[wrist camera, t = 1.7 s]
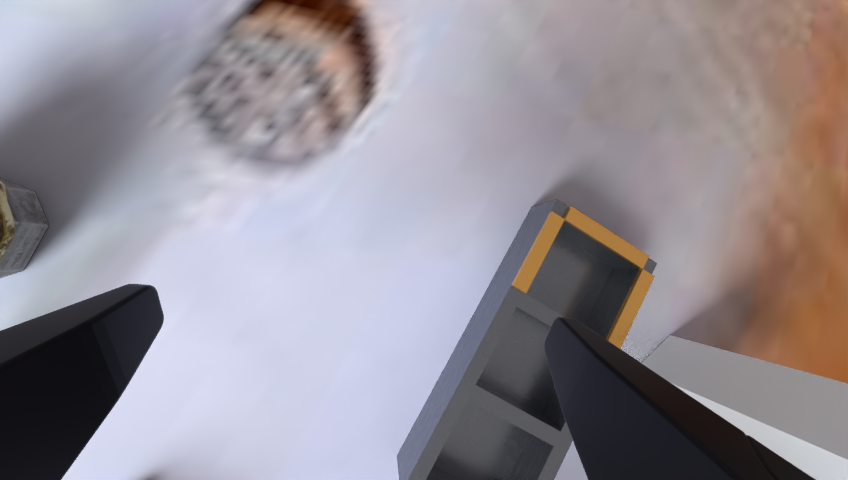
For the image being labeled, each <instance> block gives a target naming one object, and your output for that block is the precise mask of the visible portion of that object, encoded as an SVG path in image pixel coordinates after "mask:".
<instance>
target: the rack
mask: <svg viewBox="0 0 848 480" xmlns="http://www.w3.org/2000/svg"><path fill="white" fill-rule="evenodd" d="M656 264H657V263H656V262H654V261H652V260H651V259H649V256H648V255H647V254H645V253H644V252H642V251H641V250H639V249H637V248H636V247H634V246H633V245H631V244H630V243H628V242H627V241H625V240H623V239H622V238H620V237H619V236H617V235H616V234H614V233H612V232H611V231H609V230H608V229H606V228H605V227H603V226H602V225H600V224H598V223H597V222H595V221H594V220H592V219H591V218H589V217H588V216H586V215H584V214H583V213H581V212H580V211H578V210H577V209H575V208H574V207H572V206H571V207H568V206H567V205H565V204H563V203H562V202H560V201H559V200H557V199H556V200H553V201H550V202H546V203H543V204H540V205H537V206H533V207H531V209H530V211H529V213H528V215H527V216H526V218H525V220H524V222H523V224H522V226H521V228H520V229H519V231H518V233H517V235H516V237H515V239H514V241H513V242H512V244H511V246H510V248H509V250H508V252H507V253H506V255H505V257H504V259H503V261H502V263H501V265H500V266H499V268H498V270H497V272H496V274H495V276H494V278H493V279H492V281H491V283H490V285H489V287H488V289H487V290H486V292H485V294H484V296H483V298H482V300H481V302H480V303H479V305H478V307H477V309H476V311H475V313H474V315H473V316H472V318H471V320H470V322H469V324H468V326H467V327H466V329H465V331H464V333H463V335H462V337H461V339H460V340H459V342H458V344H457V346H456V348H455V350H454V352H453V353H452V355H451V357H450V359H449V361H448V363H447V364H446V366H445V368H444V370H443V372H442V374H441V376H440V377H439V379H438V381H437V383H436V385H435V387H434V389H433V390H432V392H431V394H430V396H429V398H428V400H427V401H426V403H425V405H424V407H423V409H422V411H421V413H420V414H419V416H418V418H417V420H416V422H415V424H414V425H413V427H412V429H411V431H410V433H409V435H408V437H407V438H406V440H405V442H404V444H403V446H402V448H401V450H400V451H399V453H398V455H397V462H398V472H399V480H554V478H555V476H556V474H557V472H558V470H559V468H560V466H561V464H562V461H563V459H564V457H565V455H566V453H567V451H568V449H569V447H570V445H571V443H572V441H573V439H572V436H571V434H570V431H569V428H568V426H567V423H566V421H565V418H564V415H563V412H562V409H561V406H560V403H559V400H558V396H557V393H556V389H555V386H554V382H553V379H552V375H551V372H550V368H549V364H548V361H547V357H546V354H545V350H544V343H545V339H546V337H547V335H548V332H549V330H550V328H551V326H552V323H553V321H554V320H555V319H556V318H557V317H571V318H574V319H576V320H578V321H579V322H581V323H582V324H584V325H585V326H587V327H588V328H590V329H591V330H593V331H594V332H596V333H597V334H599V335H600V336H602V337H603V338H605V339H606V340H607V341H609V342H610V343H612V344H613V345H615V346H616V347H618V348H619V349H620V348H621V346H622V344H623V342H624V340H625V338H626V336H627V333H628V331H629V329H630V327H631V325H632V323H633V321H634V319H635V317H636V315H637V312H638V310H639V308H640V306H641V304H642V302H643V300H644V298H645V296H646V293H647V291H648V289H649V287H650V285H651V283H652V281H653V279H654V277H655V276H653V275H652V273H653V271H654V268H655V266H656Z"/></svg>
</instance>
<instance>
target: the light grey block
mask: <svg viewBox="0 0 848 480" xmlns="http://www.w3.org/2000/svg"><path fill="white" fill-rule="evenodd" d="M642 364H643V365H645V366H646V367H648V368H649V369H651V370H652V371H654V372H655V373H657V374H658V375H660V376H661V377H663V378H664V379H666V380H667V381H669V382H670V383H672V384H673V385H675V386H676V387H678V388H679V389H680V390H682V391H683V392H685V393H686V394H688V395H689V396H691V397H692V398H694V399H695V400H697V401H698V402H700V403H701V404H703V405H704V406H706V407H707V408H709V409H710V410H712V411H713V412H715V413H716V414H718V415H719V416H721V417H722V418H724V419H725V420H727V421H728V422H730V423H731V424H733V425H734V426H736V427H737V428H739V429H740V430H742V431H743V432H744V433H745V435H749V436H751V437H752V438H754V439H755V440H757V441H758V442H760V443H761V444H763V445H764V446H766V447H767V448H769V449H770V450H771V451H773V452H774V453H776V454H778V455H779V456H781V457H782V458H784V459H785V460H787V461H788V462H790V463H791V464H793V465H794V466H796V467H797V468H799V469H800V470H802V471H803V472H805V473H806V474H808V475H809V476H811V477H813V478H814V479H816V480H848V383H844V382H840V381H837V380H833V379H829V378H826V377H822V376H818V375H815V374H811V373H807V372H804V371H800V370H796V369H793V368H789V367H785V366H782V365H778V364H774V363H771V362H767V361H763V360H760V359H756V358H752V357H749V356H745V355H741V354H738V353H734V352H730V351H727V350H723V349H719V348H716V347H712V346H708V345H705V344H701V343H697V342H694V341H690V340H686V339H683V338H679V337H675V336H672V335H669V336H668V337H667V338H666V339H665V340H664V341H663V342H662V343H661V344H660V345H659V346H658V347H657V348H656V349H655V350H654V351H653V352H652V353H651V354H650V355H649V356H648V357H647V358H646V359H645V360H644V361H643V362H642Z"/></svg>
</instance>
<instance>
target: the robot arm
mask: <svg viewBox="0 0 848 480" xmlns="http://www.w3.org/2000/svg"><path fill="white" fill-rule="evenodd" d="M163 320H164V316H163V311H162V308H161V304H160V300H159V296H158V293H157V290H156V289H155V287H153V286H151V285H142V284H128V285H124V286H122V287H119V288H116V289H114V290H111V291H108V292H105V293H103V294H100V295H97V296H94V297H92V298H89V299H86V300H84V301H81V302H78V303H75V304H73V305H70V306H67V307H64V308H62V309H59V310H56V311H53V312H51V313H48V314H45V315H43V316H40V317H37V318H34V319H32V320H29V321H26V322H23V323H21V324H18V325H15V326H13V327H10V328H7V329H4V330H2V331H0V480H61V479H62V478H63V476H64V475H65V473H66V472H67V471H68V469H69V468H70V467H71V465H72V464H73V462H74V461H75V460H76V458H77V457H78V455H79V454H80V453H81V451H82V450H83V449H84V447H85V446H86V444H87V443H88V442H89V440H90V439H91V437H92V436H93V435H94V433H95V432H96V430H97V429H98V428H99V426H100V425H101V424H102V422H103V421H104V419H105V418H106V417H107V415H108V414H109V412H110V411H111V410H112V408H113V407H114V405H115V404H116V402H117V401H118V400H119V398H120V397H121V395H122V393H123V392H124V390H125V389H126V387H127V385H128V384H129V382H130V380H131V379H132V377H133V375H134V374H135V372H136V370H137V368H138V367H139V365H140V363H141V362H142V360H143V358H144V356H145V355H146V353H147V351H148V350H149V348H150V346H151V344H152V343H153V341H154V339H155V338H156V336H157V334H158V332H159V331H160V329H161V327H162V324H163ZM544 350H545V354H546V357H547V361H548V364H549V368H550V372H551V375H552V379H553V382H554V386H555V389H556V393H557V396H558V400H559V403H560V406H561V409H562V412H563V415H564V418H565V421H566V423H567V426H568V428H569V431H570V434H571V436H572V439H573V441H574V444H575V446H576V449H577V452H578V454H579V457H580V459H581V462H582V464H583V467H584V470H585V472H586V475H587V477H588V480H816V479H814V478H813V477H811V476H809V475H808V474H806V473H805V472H803V471H802V470H800V469H799V468H797V467H796V466H794V465H793V464H791V463H790V462H788V461H787V460H785V459H784V458H782V457H781V456H779V455H778V454H776V453H774V452H773V451H771V450H770V449H769V448H767V447H766V446H764V445H763V444H761V443H760V442H758V441H757V440H755V439H754V438H752V437H751V436H749V435H745V433H744V432H743V431H742V430H740V429H739V428H737V427H736V426H734V425H733V424H731V423H730V422H728V421H727V420H725V419H724V418H722V417H721V416H719V415H718V414H716V413H715V412H713V411H712V410H710V409H709V408H707V407H706V406H704V405H703V404H701V403H700V402H698V401H697V400H695V399H694V398H692V397H691V396H689V395H688V394H686V393H685V392H683V391H682V390H680V389H679V388H678V387H676V386H675V385H673V384H672V383H670V382H669V381H667V380H666V379H664V378H663V377H661V376H660V375H658V374H657V373H655V372H654V371H652V370H651V369H649V368H648V367H646V366H645V365H643V364H642V363H640V362H639V361H637V360H636V359H634V358H633V357H631V356H630V355H628V354H627V353H625V352H624V351H622V350H621V349H619V348H618V347H616V346H615V345H613V344H612V343H610V342H609V341H607V340H606V339H605V338H603V337H602V336H600V335H599V334H597V333H596V332H594V331H593V330H591V329H590V328H588V327H587V326H585V325H584V324H582V323H581V322H579V321H578V320H576V319H574V318H571V317H557V318H556V319H555V320H554V321H553V323H552V326H551V328H550V330H549V332H548V335H547V337H546V339H545V343H544Z"/></svg>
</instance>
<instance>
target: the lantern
mask: <svg viewBox="0 0 848 480" xmlns="http://www.w3.org/2000/svg"><path fill="white" fill-rule="evenodd" d="M48 226H49V224H48V222H47V220H46V217H45V215H44V213H43V210H42V208H41V206H40V203H39V201H38V199H37V196H36V194H35V192H33V191H31V190H28V189H26V188H23V187H21V186H18V185H16V184H13V183H11V182H9V181H6V180H4V179H1V178H0V278H2V277H5V276H8V275H11V274H15V273H18V272H21V271H23V270H24V268H25V267H26V265H27V263H28V261H29V260H30V258H31V256H32V254H33V253H34V251H35V249H36V247H37V246H38V244H39V242H40V240H41V238H42V237H43V235H44V233H45V231H46V230H47V228H48Z"/></svg>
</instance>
